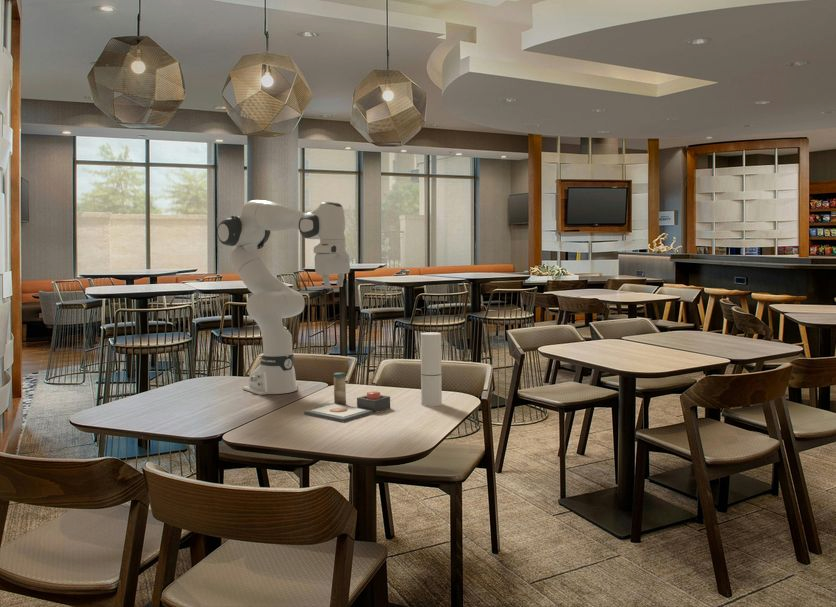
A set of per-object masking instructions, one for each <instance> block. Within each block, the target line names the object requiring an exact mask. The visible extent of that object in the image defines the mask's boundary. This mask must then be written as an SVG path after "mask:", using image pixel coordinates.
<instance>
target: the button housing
mask: <svg viewBox="0 0 836 607" xmlns="http://www.w3.org/2000/svg"><path fill="white" fill-rule="evenodd" d="M356 407H357V408H362V409H368V410H373V414H374V413H375V414H376V413H378V412H383V411H386V410H388V409H391V396H388V395H383V394H380V398H379V399H376V400H372V399H367V394H366V395H363V396H359V397H357V398H356ZM382 410H383V411H382Z"/></svg>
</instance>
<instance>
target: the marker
mask: <svg viewBox="0 0 836 607" xmlns="http://www.w3.org/2000/svg"><path fill="white" fill-rule="evenodd" d="M346 390H347V389H346V373H345V372H335V373H333V394H334V396H333V398H334V399H333V400H334V402H333V403H335V404H341V405H346V406H347V398H346V397H347V396H346V395H347V393H346Z"/></svg>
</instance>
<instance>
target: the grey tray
mask: <svg viewBox="0 0 836 607" xmlns="http://www.w3.org/2000/svg"><path fill="white" fill-rule="evenodd" d="M303 413H304V415H306V416H311V417H316V418H321V419H326V420H330V421H331V420H332V421H336V422H339V423H340V422H341V423H345V422H349V421H352V420H356V419H358V418H362V417H365V416H369V415H372V414H374V413H373V410H368V409H362V408H357V406H349V405H347V404H346V405H341V404H335V403H334V402H333V403H330V404H327V405H322V406H319V407H315V408H310V409H307V410H303Z"/></svg>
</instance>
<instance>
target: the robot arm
mask: <svg viewBox="0 0 836 607" xmlns="http://www.w3.org/2000/svg"><path fill="white" fill-rule="evenodd" d="M345 218H346V217H345V210H344V206H343V205H342V204H340V203H338V202H333V201H322V202H320V204H319V205H318V207H316V208H315V209H313V210H311V211H309V212H303V211H301V210H297V209H294V208H292V207H288V206H285V205H284V204H280V203H278V202H275V201H271V200H266V199H265V200H263V199H253V200H249V201H247V202H246V203H245V204H244V205H243V206H242V209H241V214H240V215H238V216H237V215H236V214H233V215H230V217H228V218H225V219H224V220H222V221H220V223H218V226H217V228H216V235H217V238H218V240H219V242H220V243H221V244H222V245H225V246H229V247H233V248H232V250H231V251H230V254H229V255H230V256H229V259H230V261H231V264H232V266H233V269H234V270H235V272H236V273H237V275H238V277H239V278H240V280H242V282H243V283H244V285H245V287H246V288H247V290H248V291H249V292H251V293H252V295H250V296H249V297H248V299H247V302H246V311H247V313H248V315H249V316H250V317H249V318H251V319H253V320H254V321H255V323H256V324H257V325H258V328H259V330H260V333H261V337H262V338H261V340H262V355H261V356H259V360H260V364H259V365H258V366H257V367H256V368H255V369H254V370H253V371H252V372H251V373H250V374H249V377H248V384H246V385H244V386H243V387H242V390H244V391H248V392H250V393H253V394H257V395H259V396H260V395H261V396H262V395H280V394H283V395H284V394H288V393H293V392H296V391H298V387H299V384H298V383H297V379H296V378H297V377H296V371H295V370H296V369H295V367H294V362H295V361H294V359H295V357H294V353H293V336H292V335H293V334H291V332H290V331H289V330H287V329H286V328H285V326H284V324H283V320H282V319H286V318H288V319H289V318H292V317H295V316H298V315H300V314H301V313H302V312H303V311H304V309H305V307H306V306H305V305H306V301H305V298H304V296H303V294H302V293H301V292H299V291H298V290H295V289H293V288H291V287H289V286H288V285H287V284H285V283H284V282H282V281H281V280H280V279H279V278H278V277H277V276H276V275H275V274H273V271H271V269H269V267H268V266H267V264H266V262H264V259H262V257H261V256H260V255H259V253H258V250H260V249H262V248H263V247H264V246H265V244H266V243H267V242H268V240H269V238H270V235H271V231H272V232H275V231H277V232H278V231H289V230H298V231H299V232H300V234H301V236H302V237H303V238H304V239H307V240H308V239H309V240H319V243H318V244H316V246H314V247H313V253H314V271H315V273H316V275H317V276H321V278H322V281H323V287H324V288H325V289H331V285H332V283H331V282H330V276H331V275H332V276H333V275H337V281H336V287H339V288H340V287H344V281H345V280H344V279H345V274H349V273H350V271H351V265H350V263H351V262H350V256H349V254H348V252H347V250H346V236H345V229H346V221H345V220H346V219H345Z"/></svg>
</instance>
